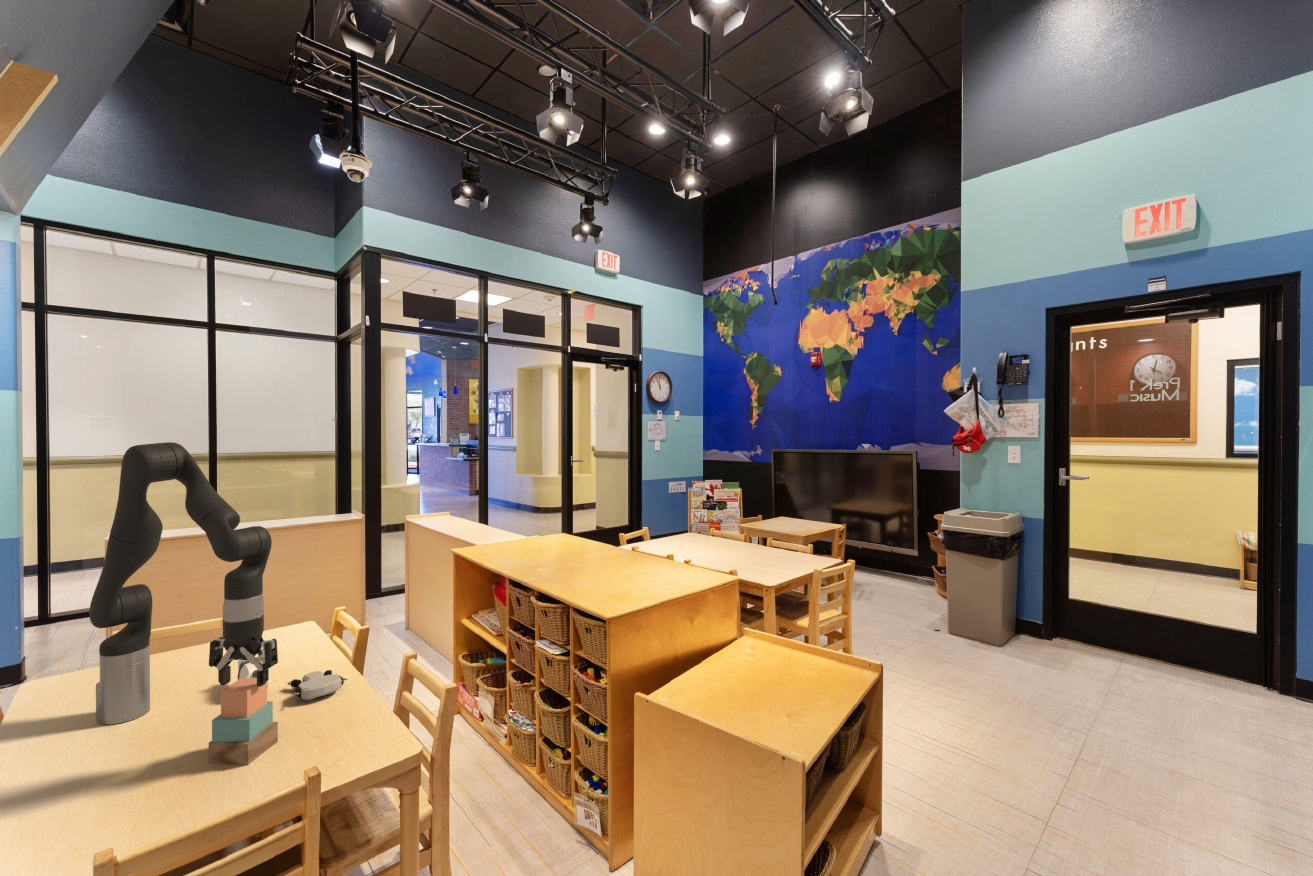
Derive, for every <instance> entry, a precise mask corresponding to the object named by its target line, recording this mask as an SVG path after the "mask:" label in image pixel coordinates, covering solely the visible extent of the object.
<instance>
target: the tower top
mask: <svg viewBox="0 0 1313 876" xmlns="http://www.w3.org/2000/svg"><path fill="white" fill-rule="evenodd" d="M273 704H274V702H273V700H272V701H271V700H270V701H269V700H267V704H266V705H265V706H263V707H262V708H260V709H259V710H257V711H256V712H255V713H253V714H252V715H250V716H249V717H247V718H241V717H221V713H220V714H219V715H217V716H216V717H214V718H213V719H212V720H211V741H212V742H250V741H251V740H252V739H253V738H254V737H256V736H257V735H258V734H259V733H260V732H261V731H263V730H264V729H265V728H266V727H267V726H268V725H270V724H271V723H272V722H274V720H273V719H274V718H273V717H274V712H273V710H274V709H273V708H274V705H273Z"/></svg>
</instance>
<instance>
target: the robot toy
mask: <svg viewBox="0 0 1313 876" xmlns="http://www.w3.org/2000/svg"><path fill="white" fill-rule="evenodd" d="M348 680H349V678H343V676H341V675H338V674H336V673H335V674H333V670H332V669H328V670H325V671H324V672H322V671H321V670H315V671H312V672H308V673H306V674H304V675H303V677H302V680H301V679H297V678H295V679H292V680H290V681H288V682H287V685H288V686H290V687H291V688H295V690H294V692H293V696H296V697H297V698H299V699H300V698H301V699H302V700H306V701H312V700H315V699H316V698H318V697H323V696H325V695H331V694H333V693H335V692H336V691H338V690H340V689H341V688H342V686H343V685H344V683H345V681H348Z"/></svg>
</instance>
